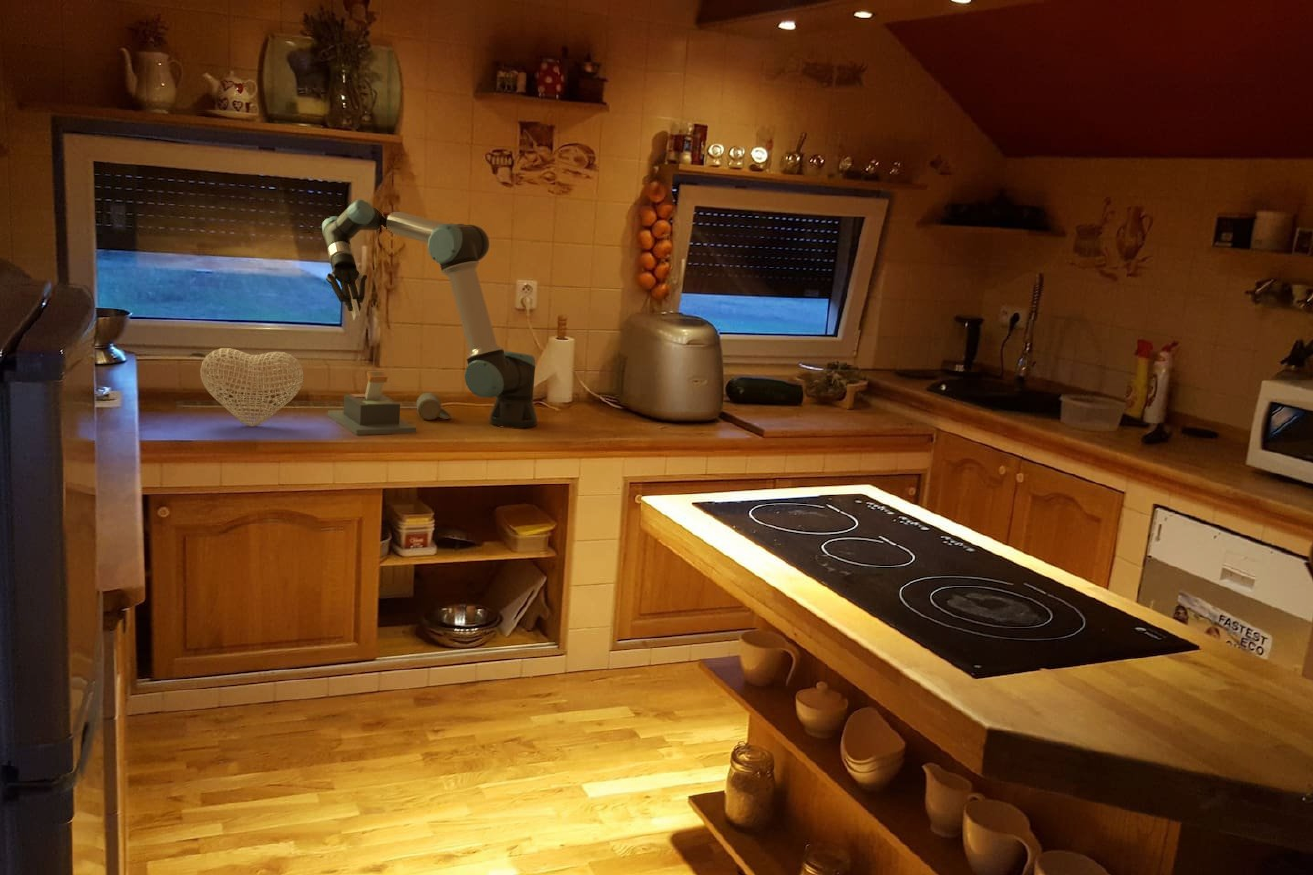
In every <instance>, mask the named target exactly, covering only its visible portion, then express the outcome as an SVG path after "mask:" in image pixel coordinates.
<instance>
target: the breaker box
mask: <svg viewBox="0 0 1313 875" xmlns="http://www.w3.org/2000/svg"><path fill="white" fill-rule="evenodd" d="M400 412H401V403H399V402H397V401H395V400H393V399H391V398H390V397H387V396H386V395H384V394H383V393H381V396H380V399H378V400H367V399H366V397H365V393H351V394H343V409H339V410H338V409H337V410H334V409H333V410H327V416H328V417H330V418H331V419H333V420H334V421H336V423H338V424H340V425H341V426H342V427H344V428H345V429H347V430H348V431H349V432H352V433H353V434H354V435H355V436H361V435H362V436H363V435H366V434H367V435H368V434H369V435H384V434H385V435H387V434H390V433H393V434H411V433H413V432H416V433H417V427H416V426H414V425H412V424H411V423H409V422H407V421H406V420H404V419H402V418H400V417H401V416H400V415H401V413H400ZM413 434H414V433H413Z"/></svg>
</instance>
